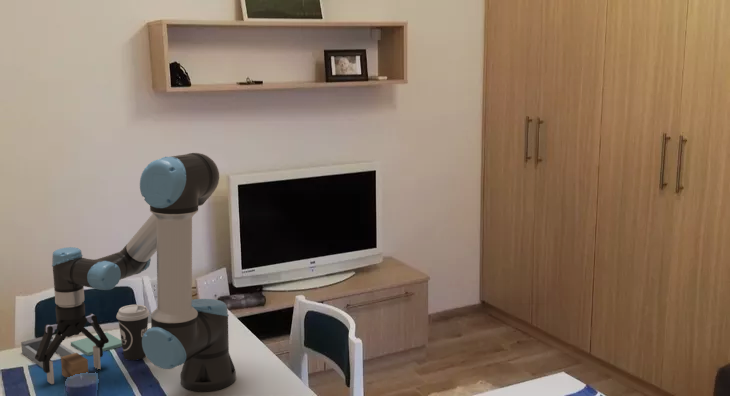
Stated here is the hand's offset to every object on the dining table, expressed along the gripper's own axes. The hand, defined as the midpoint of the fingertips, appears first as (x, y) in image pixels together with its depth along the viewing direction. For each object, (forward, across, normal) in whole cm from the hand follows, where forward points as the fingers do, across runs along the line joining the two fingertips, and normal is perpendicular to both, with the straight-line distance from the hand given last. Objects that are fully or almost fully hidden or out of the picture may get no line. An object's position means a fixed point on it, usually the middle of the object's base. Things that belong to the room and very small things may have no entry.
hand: (74, 375), depth 199 cm
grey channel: (0, 0, -17) cm, 17 cm away
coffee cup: (0, -19, -1) cm, 19 cm away
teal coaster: (0, -15, -17) cm, 23 cm away
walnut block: (0, 0, 0) cm, 1 cm away
